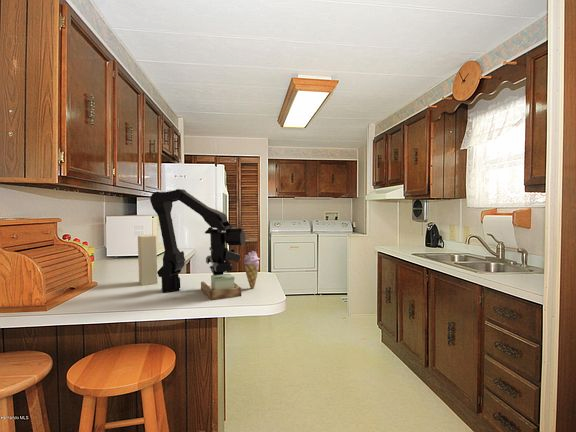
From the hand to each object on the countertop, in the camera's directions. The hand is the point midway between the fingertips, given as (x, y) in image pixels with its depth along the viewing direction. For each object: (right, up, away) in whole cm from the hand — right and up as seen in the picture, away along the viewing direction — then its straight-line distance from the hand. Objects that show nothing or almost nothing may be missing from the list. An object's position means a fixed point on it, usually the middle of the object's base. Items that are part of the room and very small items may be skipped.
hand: (219, 284), depth 136 cm
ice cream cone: (+13, -2, +3) cm, 13 cm away
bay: (+1, -3, -2) cm, 3 cm away
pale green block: (+2, -2, -5) cm, 6 cm away
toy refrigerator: (-34, -3, +18) cm, 39 cm away
